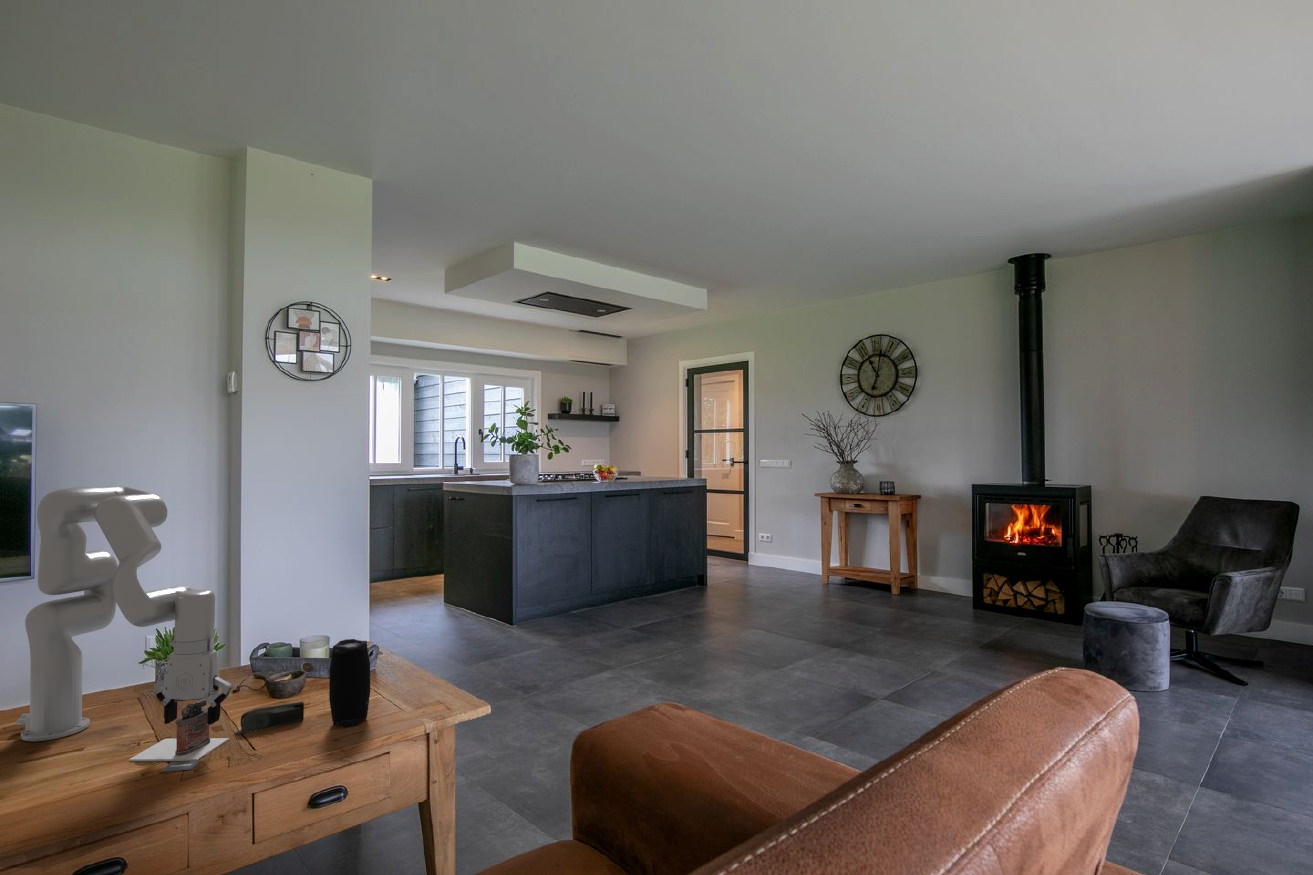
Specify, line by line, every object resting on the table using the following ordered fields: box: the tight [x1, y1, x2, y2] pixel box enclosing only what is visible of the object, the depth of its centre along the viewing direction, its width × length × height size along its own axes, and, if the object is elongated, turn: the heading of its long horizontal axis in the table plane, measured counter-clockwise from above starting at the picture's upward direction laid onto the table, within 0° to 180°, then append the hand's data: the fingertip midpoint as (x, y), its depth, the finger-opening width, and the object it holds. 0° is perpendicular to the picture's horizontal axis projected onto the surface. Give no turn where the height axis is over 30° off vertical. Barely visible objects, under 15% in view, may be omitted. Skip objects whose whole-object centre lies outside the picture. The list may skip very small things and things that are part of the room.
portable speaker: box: [328, 638, 371, 729], centre depth 171 cm, size 9×9×20 cm
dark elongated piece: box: [234, 701, 305, 736], centre depth 168 cm, size 5×3×15 cm
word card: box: [159, 760, 202, 774], centre depth 147 cm, size 6×4×1 cm, turn 100°
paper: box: [128, 737, 230, 762], centre depth 155 cm, size 15×11×1 cm
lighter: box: [175, 699, 211, 756], centre depth 155 cm, size 8×3×10 cm, turn 170°
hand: (191, 721), depth 155 cm, fingers open, 9 cm apart
